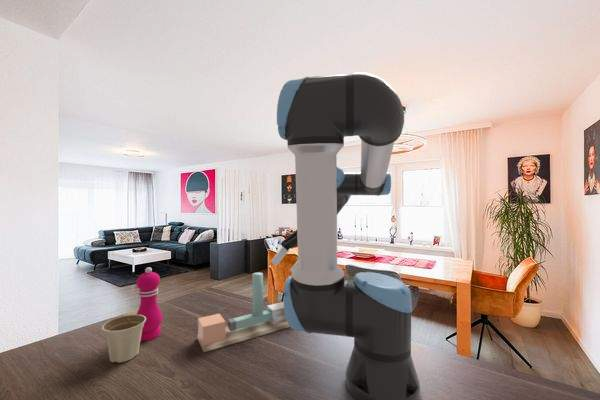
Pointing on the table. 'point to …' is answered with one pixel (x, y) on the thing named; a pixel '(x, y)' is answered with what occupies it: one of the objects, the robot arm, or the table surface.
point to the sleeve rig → (252, 329)
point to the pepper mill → (149, 304)
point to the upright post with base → (253, 307)
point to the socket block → (211, 329)
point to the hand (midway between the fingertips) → (282, 268)
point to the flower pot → (123, 337)
